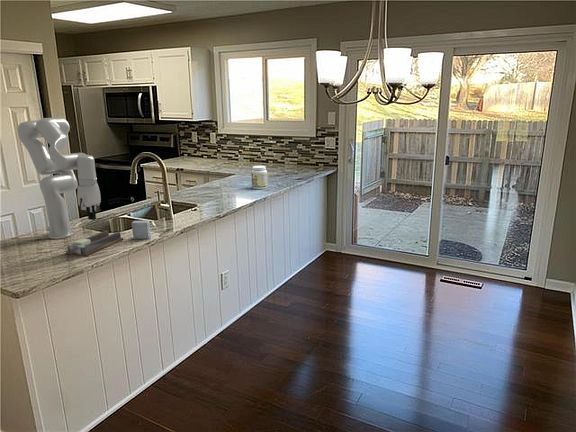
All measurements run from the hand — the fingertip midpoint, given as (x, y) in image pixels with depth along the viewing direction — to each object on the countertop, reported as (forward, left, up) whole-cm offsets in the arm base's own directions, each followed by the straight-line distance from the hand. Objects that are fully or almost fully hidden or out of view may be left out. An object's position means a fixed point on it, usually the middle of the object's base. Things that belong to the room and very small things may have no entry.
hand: (92, 219), depth 201 cm
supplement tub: (+23, +146, -14) cm, 148 cm away
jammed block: (+1, -9, -12) cm, 15 cm away
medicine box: (+14, +17, -14) cm, 26 cm away
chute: (+1, -1, -13) cm, 13 cm away
